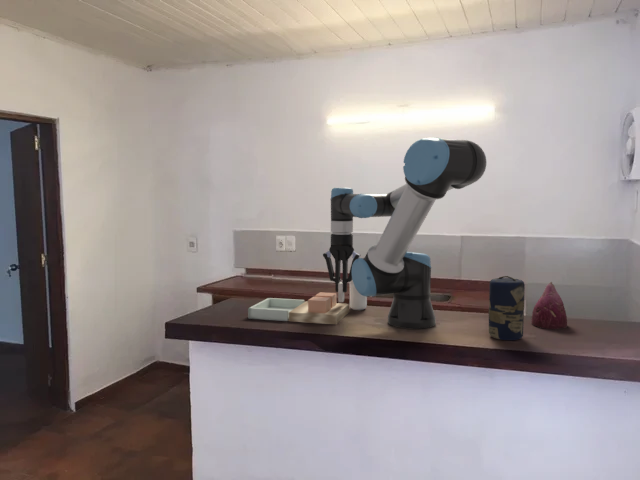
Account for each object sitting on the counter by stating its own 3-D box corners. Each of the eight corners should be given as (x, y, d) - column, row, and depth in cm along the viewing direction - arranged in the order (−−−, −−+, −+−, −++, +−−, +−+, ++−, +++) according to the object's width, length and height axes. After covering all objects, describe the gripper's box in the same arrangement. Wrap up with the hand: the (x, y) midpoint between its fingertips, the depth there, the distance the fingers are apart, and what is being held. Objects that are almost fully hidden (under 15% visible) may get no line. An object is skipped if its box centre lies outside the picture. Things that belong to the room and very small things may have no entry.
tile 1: (330, 309, 174) (330, 297, 174) (325, 313, 169) (325, 301, 168) (313, 308, 176) (313, 296, 176) (308, 312, 170) (308, 300, 170)
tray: (304, 309, 188) (304, 299, 187) (287, 321, 170) (287, 310, 170) (268, 307, 192) (268, 297, 191) (248, 318, 174) (248, 308, 174)
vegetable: (536, 330, 170) (534, 284, 173) (570, 330, 164) (567, 283, 167) (527, 328, 162) (525, 280, 165) (563, 329, 156) (560, 279, 159)
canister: (504, 344, 143) (506, 279, 142) (481, 335, 152) (482, 274, 150) (530, 340, 147) (532, 277, 146) (506, 332, 156) (508, 272, 154)
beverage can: (346, 309, 188) (346, 276, 187) (356, 306, 193) (356, 274, 192) (359, 311, 184) (359, 278, 183) (370, 308, 188) (370, 276, 187)
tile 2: (336, 304, 182) (336, 293, 182) (332, 307, 176) (332, 296, 176) (320, 303, 184) (320, 292, 183) (315, 306, 178) (315, 295, 178)
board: (348, 312, 183) (348, 303, 183) (336, 324, 166) (336, 315, 166) (305, 309, 188) (305, 301, 187) (288, 321, 170) (288, 312, 170)
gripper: (362, 232, 178) (362, 300, 180) (326, 231, 182) (326, 298, 184) (357, 234, 171) (357, 305, 173) (320, 233, 175) (319, 302, 177)
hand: (341, 301), depth 179 cm, fingers closed
